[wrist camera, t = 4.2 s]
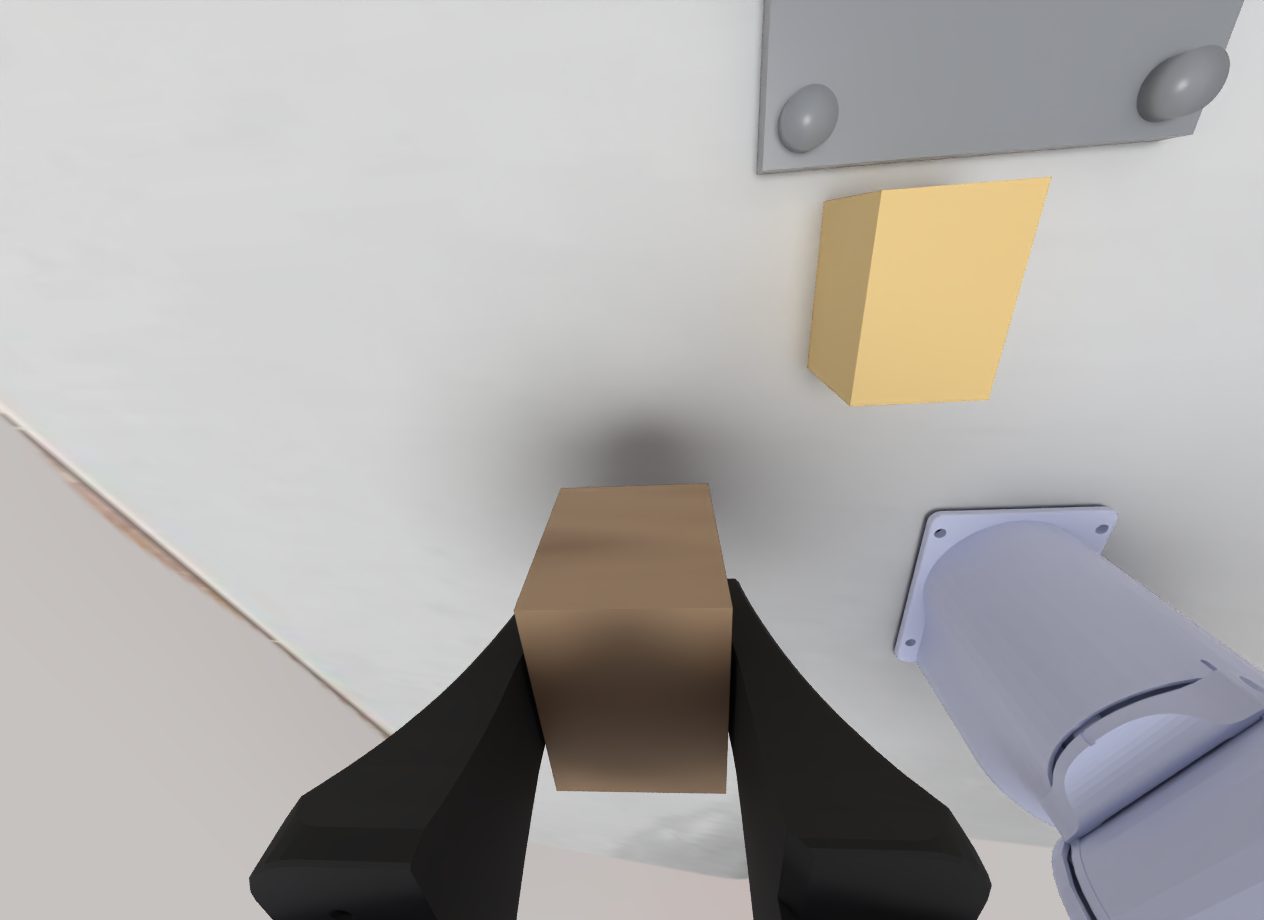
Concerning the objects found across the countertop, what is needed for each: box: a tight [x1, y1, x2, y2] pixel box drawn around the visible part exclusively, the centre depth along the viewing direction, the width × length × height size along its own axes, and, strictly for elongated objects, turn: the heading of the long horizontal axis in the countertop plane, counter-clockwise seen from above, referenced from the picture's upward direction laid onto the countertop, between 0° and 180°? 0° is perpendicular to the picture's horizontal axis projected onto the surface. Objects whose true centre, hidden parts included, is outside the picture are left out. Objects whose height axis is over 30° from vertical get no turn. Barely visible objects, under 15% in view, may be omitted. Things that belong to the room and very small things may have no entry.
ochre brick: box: [807, 177, 1052, 406], centre depth 15 cm, size 6×4×5 cm
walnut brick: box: [514, 483, 733, 794], centre depth 12 cm, size 6×4×5 cm
